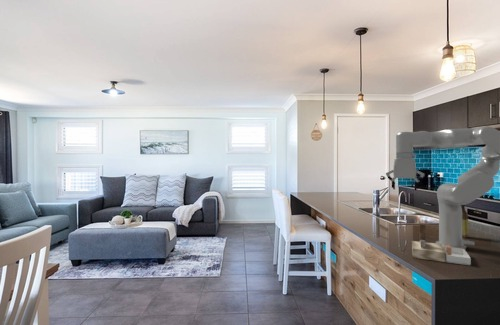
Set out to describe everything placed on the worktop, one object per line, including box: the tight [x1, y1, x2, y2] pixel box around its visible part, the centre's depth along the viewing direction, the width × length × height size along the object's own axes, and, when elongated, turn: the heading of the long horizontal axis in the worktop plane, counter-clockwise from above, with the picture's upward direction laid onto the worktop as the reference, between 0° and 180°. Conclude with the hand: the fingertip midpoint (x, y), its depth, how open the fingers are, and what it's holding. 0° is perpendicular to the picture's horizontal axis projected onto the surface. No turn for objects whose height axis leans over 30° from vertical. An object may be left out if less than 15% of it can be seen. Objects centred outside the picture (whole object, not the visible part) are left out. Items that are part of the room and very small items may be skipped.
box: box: [443, 247, 472, 267], centre depth 122 cm, size 8×14×3 cm, turn 151°
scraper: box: [418, 222, 427, 249], centre depth 128 cm, size 2×9×10 cm, turn 151°
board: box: [411, 240, 447, 263], centre depth 127 cm, size 12×14×4 cm
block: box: [446, 245, 451, 255], centre depth 124 cm, size 4×4×2 cm
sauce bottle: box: [461, 204, 470, 239], centre depth 158 cm, size 7×6×20 cm
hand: (404, 189), depth 143 cm, fingers open, 9 cm apart
